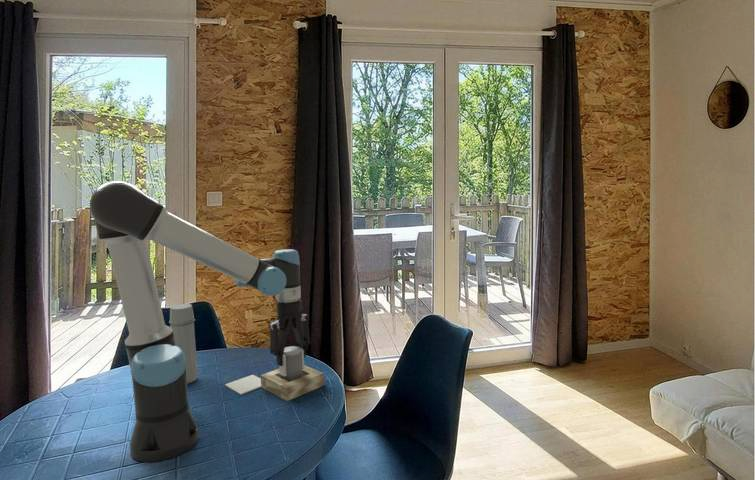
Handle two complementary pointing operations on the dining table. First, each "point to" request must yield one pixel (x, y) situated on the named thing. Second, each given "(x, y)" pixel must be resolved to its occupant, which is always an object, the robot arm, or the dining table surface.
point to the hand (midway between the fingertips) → (292, 371)
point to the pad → (245, 384)
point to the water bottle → (185, 336)
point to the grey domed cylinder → (293, 363)
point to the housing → (292, 383)
